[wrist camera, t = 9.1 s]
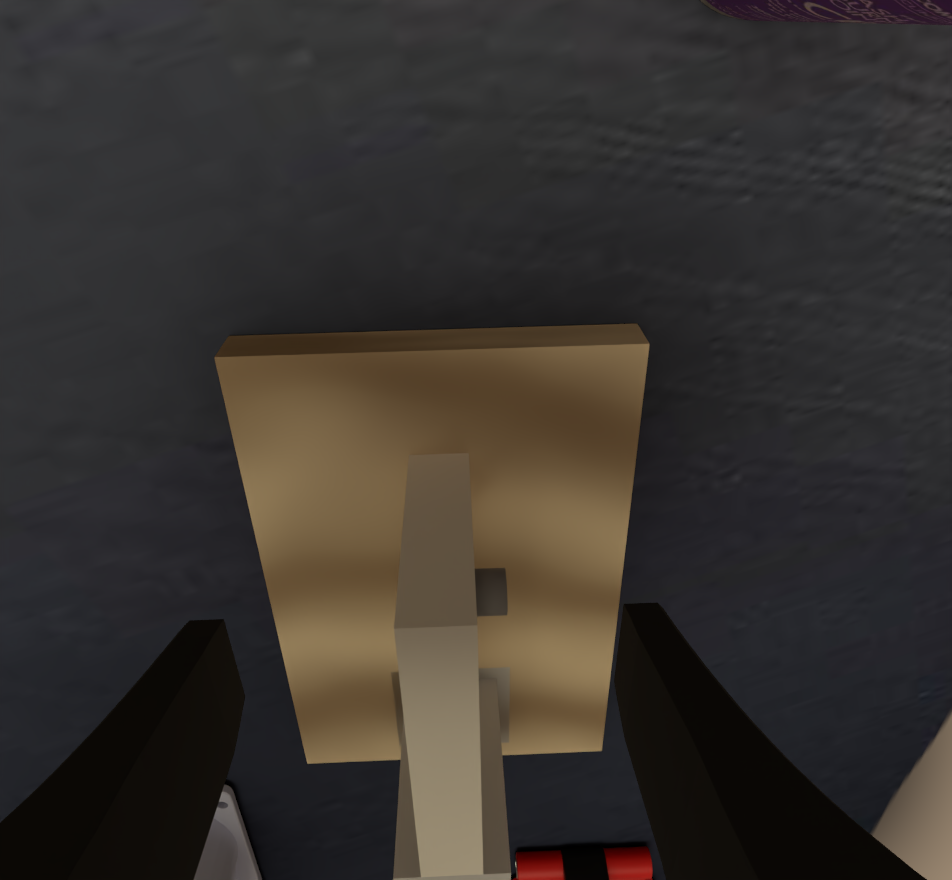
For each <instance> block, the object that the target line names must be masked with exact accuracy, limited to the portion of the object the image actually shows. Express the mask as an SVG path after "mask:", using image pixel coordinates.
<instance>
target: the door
mask: <svg viewBox="0 0 952 880" xmlns="http://www.w3.org/2000/svg"><path fill="white" fill-rule="evenodd" d="M507 612H508V600H507V580H506V570H505V568H481V569H475V567H474V547H473V527H472V507H471V487H470V467H469V453H454V454H425V455H409V460H408V471H407V483H406V494H405V506H404V518H403V529H402V541H401V552H400V564H399V576H398V587H397V599H396V610H395V622H394V634H395V643H396V652H397V661H398V671H399V680H400V689H401V698H402V707H403V730H402V746H401V763H400V779H399V795H398V811H397V827H396V843H395V859H394V875H393V880H511V867H510V853H509V840H508V827H507V813H506V800H505V786H504V773H503V760H502V746H501V733H500V719H499V706H498V693H497V679H496V678H492V679H479V671H478V629H477V616H503V615H507Z"/></svg>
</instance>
